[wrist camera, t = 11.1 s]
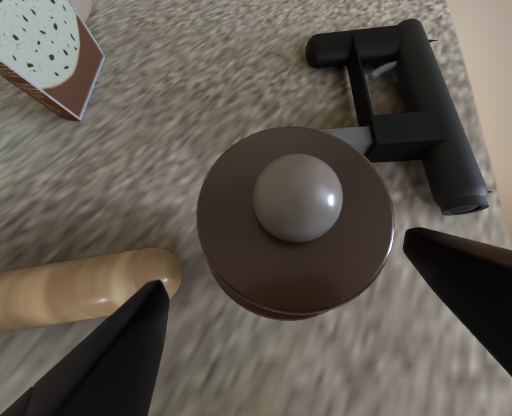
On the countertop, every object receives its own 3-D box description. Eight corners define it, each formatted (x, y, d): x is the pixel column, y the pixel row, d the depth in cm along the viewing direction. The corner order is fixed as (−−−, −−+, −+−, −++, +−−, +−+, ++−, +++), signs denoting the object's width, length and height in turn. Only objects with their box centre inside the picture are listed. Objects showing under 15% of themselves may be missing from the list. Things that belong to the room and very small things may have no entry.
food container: (60, 48, 26) (-59, -88, 16) (109, 47, 25) (17, -91, 16) (18, 132, 22) (-171, 17, 12) (76, 133, 21) (-73, 15, 12)
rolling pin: (188, 247, 17) (167, 237, 13) (191, 300, 16) (168, 306, 12) (2, 277, 17) (-73, 276, 13) (-11, 334, 16) (-99, 351, 12)
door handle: (278, 211, 15) (526, 202, 14) (270, 27, 22) (438, 8, 20) (278, 223, 18) (480, 217, 17) (271, 59, 25) (416, 44, 24)
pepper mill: (314, 277, 16) (567, 257, 3) (257, 306, 16) (209, 461, 2) (285, 222, 18) (351, 30, 4) (232, 247, 17) (112, 120, 4)
